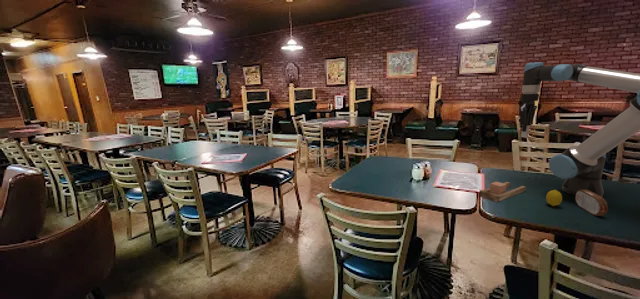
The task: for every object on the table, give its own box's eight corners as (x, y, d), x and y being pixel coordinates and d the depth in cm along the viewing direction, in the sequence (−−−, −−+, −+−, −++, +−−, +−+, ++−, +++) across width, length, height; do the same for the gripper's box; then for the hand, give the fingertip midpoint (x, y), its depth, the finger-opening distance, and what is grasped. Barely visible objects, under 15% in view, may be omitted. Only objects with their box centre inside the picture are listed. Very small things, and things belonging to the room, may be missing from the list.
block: (505, 195, 136) (506, 184, 134) (499, 197, 133) (500, 186, 132) (495, 192, 140) (496, 181, 139) (489, 194, 138) (490, 183, 136)
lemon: (557, 209, 119) (559, 193, 117) (542, 205, 124) (544, 189, 122) (563, 206, 122) (565, 190, 120) (548, 202, 127) (551, 186, 125)
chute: (525, 191, 140) (526, 185, 140) (497, 202, 129) (497, 196, 129) (507, 186, 148) (507, 180, 147) (478, 195, 137) (479, 190, 137)
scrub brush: (606, 219, 110) (610, 200, 108) (597, 218, 110) (601, 200, 109) (580, 203, 124) (583, 186, 122) (572, 203, 125) (575, 186, 123)
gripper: (528, 92, 147) (523, 134, 152) (515, 93, 141) (510, 137, 146) (545, 92, 140) (538, 136, 146) (531, 93, 134) (525, 139, 140)
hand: (524, 137), depth 146 cm, fingers closed
